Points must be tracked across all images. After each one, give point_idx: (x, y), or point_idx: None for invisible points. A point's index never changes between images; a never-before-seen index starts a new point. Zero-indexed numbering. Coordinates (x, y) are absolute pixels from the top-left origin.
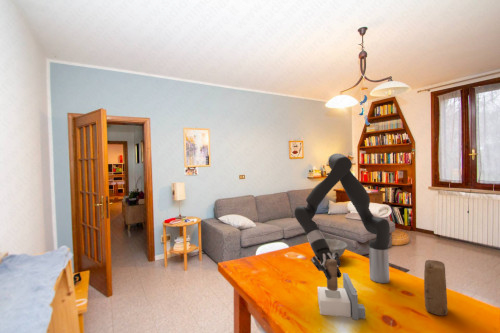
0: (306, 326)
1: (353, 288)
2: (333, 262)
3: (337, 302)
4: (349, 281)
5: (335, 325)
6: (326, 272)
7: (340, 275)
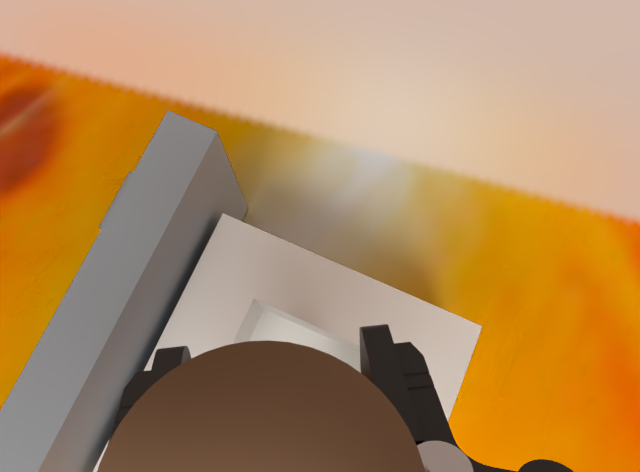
0: (602, 231)
1: (105, 244)
2: (280, 365)
3: (329, 261)
4: (17, 425)
5: (402, 188)
6: (426, 409)
7: (172, 348)
